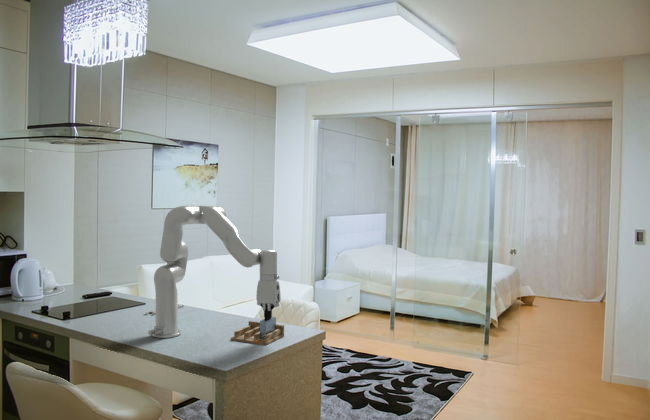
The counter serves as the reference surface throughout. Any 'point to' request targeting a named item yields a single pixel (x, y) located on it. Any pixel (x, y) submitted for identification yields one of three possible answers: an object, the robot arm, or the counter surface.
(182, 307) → the adjustable wrench
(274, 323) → the block
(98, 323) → the counter surface
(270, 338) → the rack
